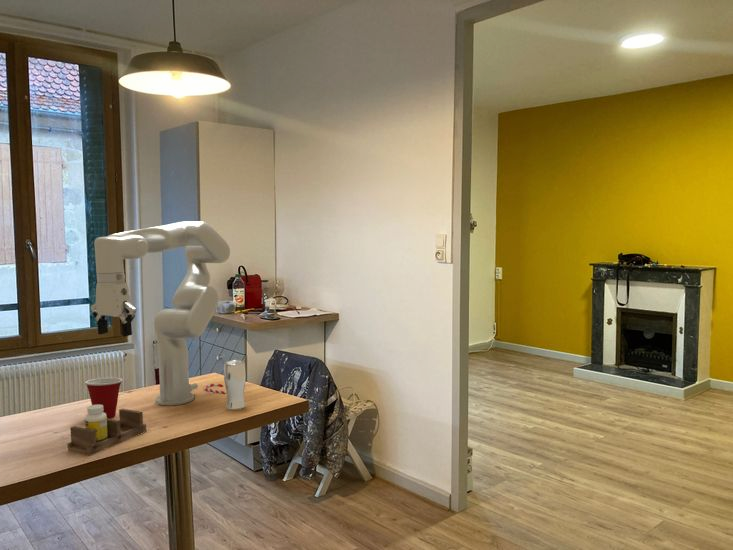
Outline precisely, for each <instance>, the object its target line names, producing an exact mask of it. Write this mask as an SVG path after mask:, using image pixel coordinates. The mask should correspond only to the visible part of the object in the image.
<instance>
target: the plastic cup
mask: <svg viewBox="0 0 733 550" xmlns="http://www.w3.org/2000/svg"><path fill="white" fill-rule="evenodd" d="M122 383H123V378H120V377H100V378H92V379H88V380H86V381H85V382H84V384H85V385H86V387H87V391H88V393H89V398H90V402H91V405H103V409H104V411H103V412H104V413H105V414H106V415H107V418H108V419H113V418H115V416H116V414H117V413H116V412H117V407H118V400H119V392H120V388H121V384H122Z"/></svg>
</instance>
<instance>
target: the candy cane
mask: <svg viewBox="0 0 733 550" xmlns="http://www.w3.org/2000/svg"><path fill="white" fill-rule="evenodd" d="M213 387H220V388H224V384H221V383H210V384H206V385H205V386H204V387H203V391H205V392H207V393H211V392H212V393H213V394H218V393H219V394H218V395H227V392H226V390H225V391H224V390H217V389H211V388H213Z"/></svg>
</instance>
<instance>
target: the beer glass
mask: <svg viewBox="0 0 733 550" xmlns="http://www.w3.org/2000/svg"><path fill="white" fill-rule="evenodd" d="M245 363H246V362H245V361H244V360H240V359H232V360H227V361H225V362H223V365H224V366H223V380H224V386H225V392H227V394H226V396H227V397H226V405H225V407H226V409H227V410H229V411H238V410H242V409H245V408H246V402H245V396H244V395H245V387H246V376H247V375H246V365H245Z"/></svg>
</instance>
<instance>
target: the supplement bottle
mask: <svg viewBox="0 0 733 550" xmlns="http://www.w3.org/2000/svg"><path fill="white" fill-rule="evenodd" d="M86 409H87V410H86V411H87V414H86V415H85V418H84V426H85V427H84V428H87V429H92V430H96V443H99V442H101V441H103V440H106V439H108V433H107V415H106V414H105V413H104V412H103V411H104V409H103V405H92V404H91V405H89V406H87V408H86Z"/></svg>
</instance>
